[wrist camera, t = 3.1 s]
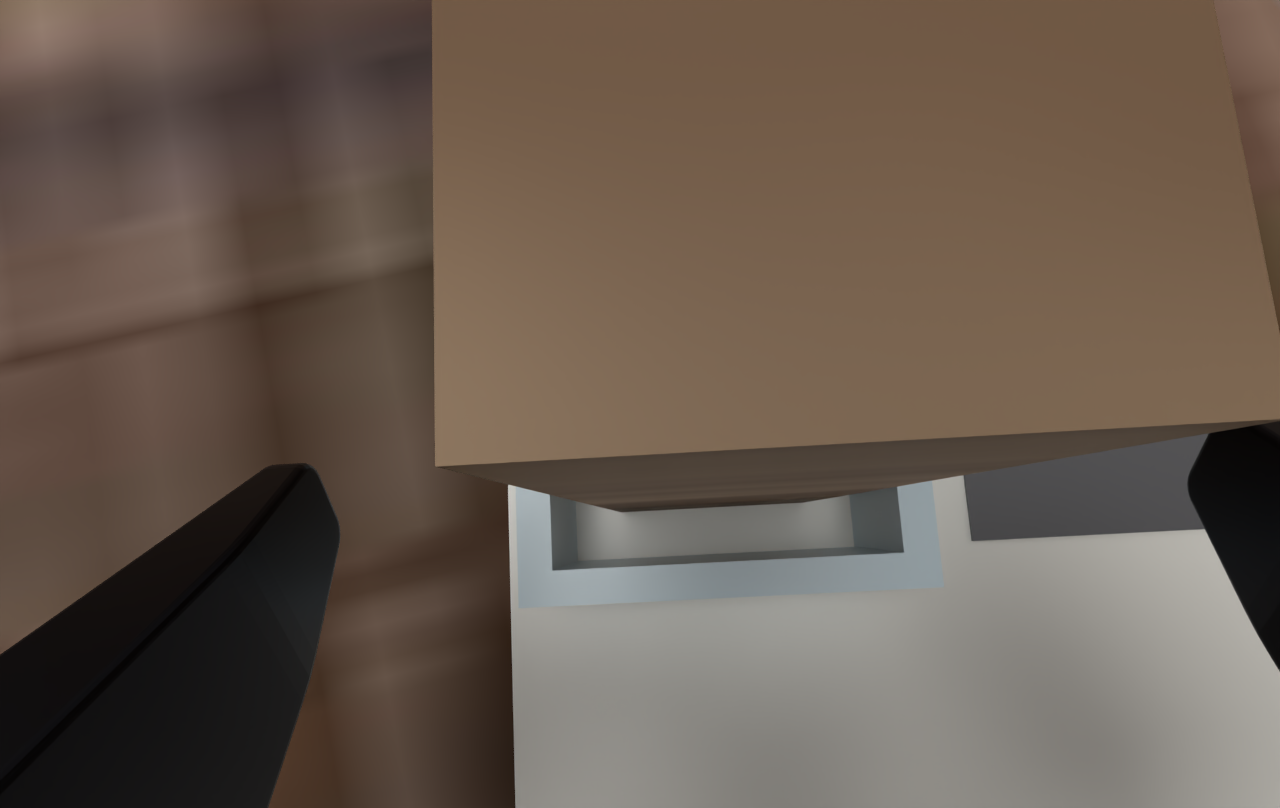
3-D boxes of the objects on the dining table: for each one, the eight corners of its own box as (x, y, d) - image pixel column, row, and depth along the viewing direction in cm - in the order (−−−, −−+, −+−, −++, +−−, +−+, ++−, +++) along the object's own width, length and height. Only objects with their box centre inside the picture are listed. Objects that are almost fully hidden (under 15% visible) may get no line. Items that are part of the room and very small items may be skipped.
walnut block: (803, 502, 16) (1295, 417, 3) (621, 512, 16) (436, 466, 4) (788, 325, 17) (1153, -306, 4) (612, 336, 17) (429, -241, 4)
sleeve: (885, 573, 16) (944, 587, 12) (551, 590, 16) (519, 608, 13) (852, 253, 17) (897, 185, 14) (541, 273, 17) (509, 211, 14)
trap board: (1353, 1255, 14) (1408, 1312, 13) (537, 1269, 15) (525, 1326, 14) (1150, 116, 18) (1180, 91, 17) (509, 161, 19) (499, 139, 18)
